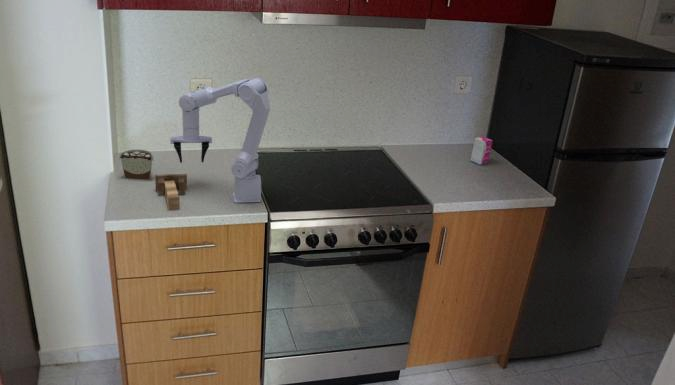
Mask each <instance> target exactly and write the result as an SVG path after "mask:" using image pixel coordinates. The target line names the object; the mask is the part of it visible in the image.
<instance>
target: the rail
mask: <svg viewBox="0 0 675 385" xmlns="http://www.w3.org/2000/svg"><path fill="white" fill-rule="evenodd" d="M164 196H165V200H166V205H167V208H168V211H176V210H177V211H178V210H180V195H179V191H178V190H177V188H176V185H175V182H174V180H171V181H164Z"/></svg>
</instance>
